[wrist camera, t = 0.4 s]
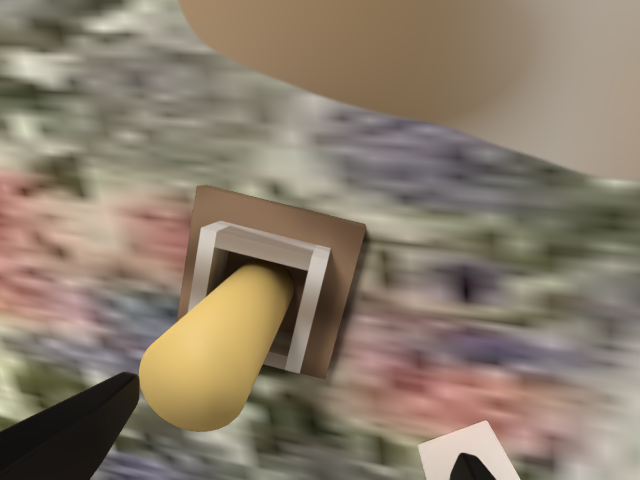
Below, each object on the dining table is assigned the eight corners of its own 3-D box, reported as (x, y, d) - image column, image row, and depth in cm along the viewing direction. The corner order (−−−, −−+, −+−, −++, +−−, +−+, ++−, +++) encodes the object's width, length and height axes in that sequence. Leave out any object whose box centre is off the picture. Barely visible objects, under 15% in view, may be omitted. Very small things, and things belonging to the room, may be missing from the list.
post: (287, 321, 24) (237, 443, 13) (229, 306, 24) (133, 415, 13) (299, 266, 23) (257, 348, 12) (240, 251, 23) (145, 318, 12)
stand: (326, 367, 26) (322, 407, 22) (183, 330, 26) (150, 361, 22) (365, 224, 23) (369, 235, 19) (206, 185, 24) (174, 187, 19)
